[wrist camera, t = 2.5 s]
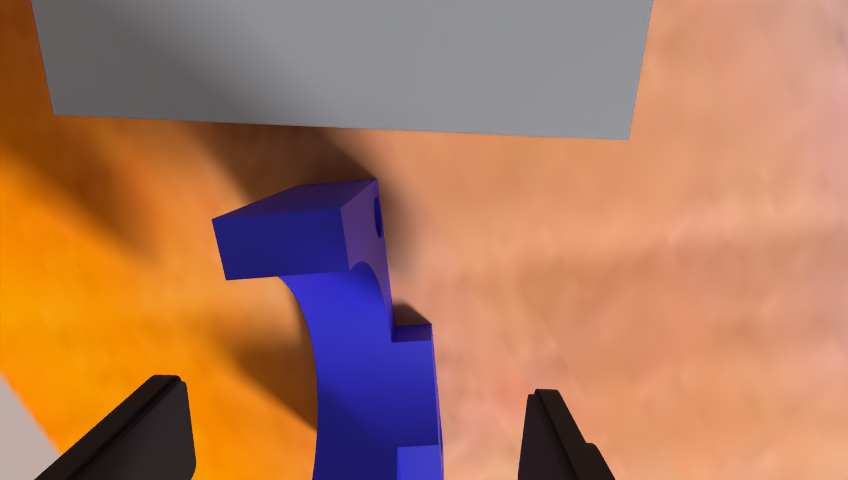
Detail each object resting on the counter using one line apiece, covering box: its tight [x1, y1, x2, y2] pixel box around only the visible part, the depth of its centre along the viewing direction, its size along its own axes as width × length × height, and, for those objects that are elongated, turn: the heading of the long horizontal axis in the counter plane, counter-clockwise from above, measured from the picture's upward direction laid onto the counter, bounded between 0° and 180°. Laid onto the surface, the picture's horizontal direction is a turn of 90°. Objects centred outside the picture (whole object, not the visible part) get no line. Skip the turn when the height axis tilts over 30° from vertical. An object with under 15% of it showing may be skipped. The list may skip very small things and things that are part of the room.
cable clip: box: [212, 179, 444, 480], centre depth 13 cm, size 12×4×6 cm, turn 5°
